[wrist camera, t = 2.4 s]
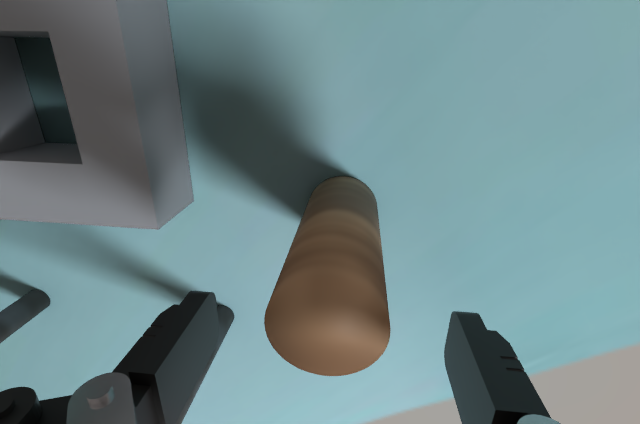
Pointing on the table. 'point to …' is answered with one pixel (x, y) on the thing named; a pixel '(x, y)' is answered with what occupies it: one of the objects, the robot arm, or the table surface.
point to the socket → (95, 116)
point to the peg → (332, 285)
